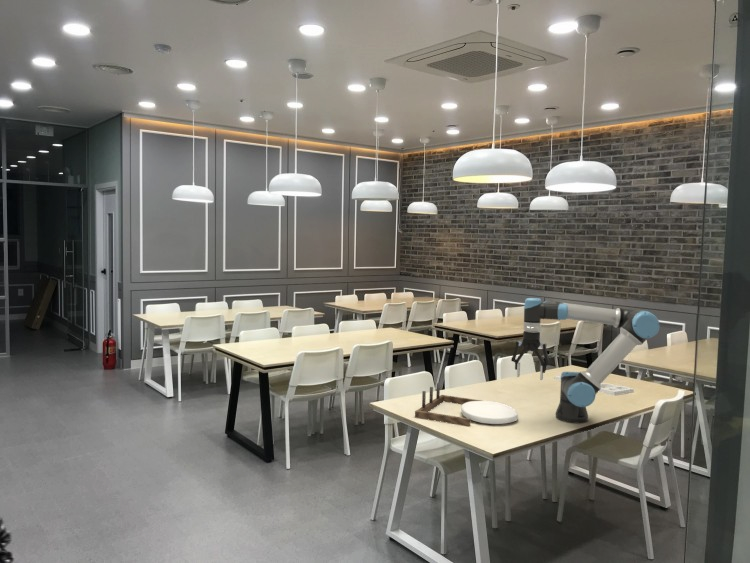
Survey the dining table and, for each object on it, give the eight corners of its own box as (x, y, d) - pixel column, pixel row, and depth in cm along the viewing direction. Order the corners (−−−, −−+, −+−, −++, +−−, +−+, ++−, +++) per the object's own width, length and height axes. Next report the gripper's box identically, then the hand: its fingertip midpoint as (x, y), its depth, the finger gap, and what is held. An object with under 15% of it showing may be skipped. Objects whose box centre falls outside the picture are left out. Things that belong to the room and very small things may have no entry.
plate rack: (490, 407, 300) (491, 386, 299) (468, 426, 267) (469, 402, 266) (441, 400, 312) (442, 380, 312) (414, 417, 279) (415, 394, 279)
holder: (553, 380, 370) (553, 376, 370) (572, 377, 380) (572, 373, 379) (613, 396, 332) (614, 391, 332) (633, 393, 341) (634, 388, 341)
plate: (529, 414, 273) (480, 419, 264) (528, 427, 274) (479, 432, 265) (497, 393, 299) (451, 397, 289) (496, 405, 300) (450, 409, 290)
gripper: (505, 330, 273) (503, 376, 274) (555, 334, 262) (553, 382, 264) (509, 328, 279) (507, 373, 281) (558, 332, 269) (555, 379, 270)
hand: (529, 378), depth 272 cm, fingers open, 10 cm apart
